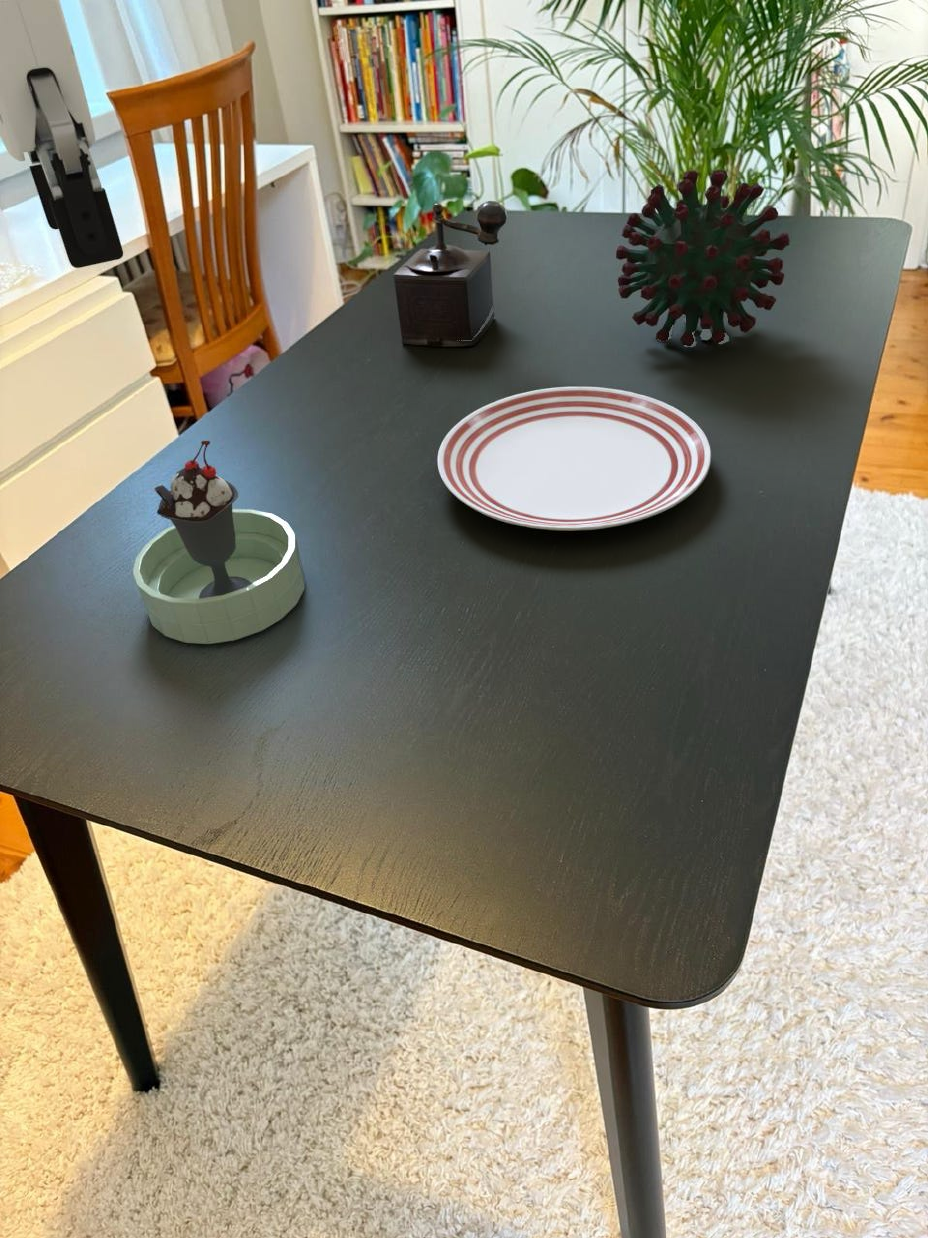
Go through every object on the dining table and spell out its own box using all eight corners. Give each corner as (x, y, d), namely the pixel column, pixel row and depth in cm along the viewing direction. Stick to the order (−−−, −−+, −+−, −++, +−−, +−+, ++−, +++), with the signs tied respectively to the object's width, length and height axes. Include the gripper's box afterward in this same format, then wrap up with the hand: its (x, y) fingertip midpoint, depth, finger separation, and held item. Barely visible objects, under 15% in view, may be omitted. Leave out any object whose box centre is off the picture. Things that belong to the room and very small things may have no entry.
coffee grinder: (397, 346, 130) (378, 206, 118) (425, 314, 138) (410, 179, 126) (509, 353, 125) (501, 207, 114) (532, 319, 133) (526, 179, 122)
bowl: (168, 669, 82) (151, 623, 79) (136, 582, 92) (120, 539, 89) (326, 613, 86) (316, 567, 83) (279, 536, 96) (268, 493, 93)
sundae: (277, 579, 90) (239, 433, 80) (235, 623, 85) (190, 474, 76) (219, 566, 92) (176, 423, 83) (175, 608, 88) (124, 462, 78)
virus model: (675, 298, 134) (683, 141, 122) (808, 330, 123) (833, 160, 110) (583, 350, 124) (581, 184, 111) (720, 390, 112) (735, 210, 100)
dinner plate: (768, 485, 96) (772, 455, 94) (537, 588, 86) (536, 557, 84) (598, 389, 115) (598, 363, 113) (394, 465, 105) (390, 438, 103)
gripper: (-94, -75, 58) (12, 223, 68) (-85, -70, 45) (43, 293, 56) (36, -89, 60) (118, 201, 71) (79, -88, 48) (172, 265, 58)
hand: (85, 242), depth 63 cm, fingers open, 9 cm apart
